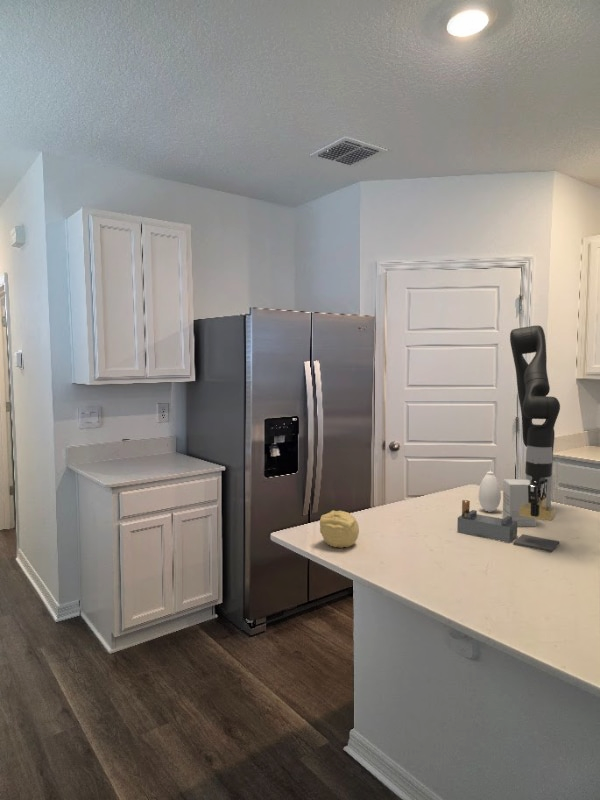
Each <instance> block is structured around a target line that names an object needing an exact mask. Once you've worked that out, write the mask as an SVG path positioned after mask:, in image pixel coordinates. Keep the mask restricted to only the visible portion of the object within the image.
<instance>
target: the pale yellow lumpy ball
mask: <svg viewBox="0 0 600 800" xmlns="http://www.w3.org/2000/svg"><path fill="white" fill-rule="evenodd" d="M319 533H320V534H321V536H322V538H323V540H324V542H325V543H326V544H327V545H328V546H329V545H330V546H329V547H332V546H333V547H332V548H336V547H342V548H341V549H344V548H343V547H346V548H349V547H351V546H353V545H354V544H355V543H356V542H357V540H358V538H359V533H360V528H359V524H358V521H357V519H356V518H355V516H353V514H351V513H349V512H346V511H343V510H331V511H330V512H327V513H326V514H325V513H324V514H322V515H321V516H320V520H319Z"/></svg>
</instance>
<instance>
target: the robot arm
mask: <svg viewBox="0 0 600 800" xmlns="http://www.w3.org/2000/svg"><path fill="white" fill-rule="evenodd" d="M546 340H547V339H546V334H545V331H544V328H543V327H542V326H541V325H531V326H530V325H529V326H523V327H518V328H517V327H516V328H514V329H512V330H511V331H510V334H509V342H510V348H511V352H512V358H513V363H514V368H515V375H516V385H517V386H516V387H517V395H518V399H519V407H520V412H521V414H520V415H521V429H522V431H521V432H522V440H523V444H524V446H525V447H526V451H525V470H524V471H525V472H524V474H525V480H530V485H528V502H529V503H530V504H531V516H535V517H538V516H539V501H540V498H541V497H546V507H551V508H552V488H553V487H552V486H553V485H552V484H553V482H552V481H553V460H554V448H555V447H554V446H555V437H556V435H555V424H556V422H557V419H558V417H559V413H560V410H561V404H560V401H559V399H558V398H557V397H555V396H548V395H549V393H550V392H551V391H550V390H551V388H550V381H549V377H548V370H547V368H548V367H547V360H548V359H547V357H548V356H547V342H546ZM534 353H535V355H534V356H533V358H532V359H531V361H530V362H529V363H528V362H527V360H526V359H525V357H524V355H527V354H534ZM533 420H544V422H542V424H536V423H533ZM533 497H535V500H533Z"/></svg>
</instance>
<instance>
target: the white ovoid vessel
mask: <svg viewBox="0 0 600 800" xmlns="http://www.w3.org/2000/svg"><path fill="white" fill-rule="evenodd" d="M501 498H502V493H501V487H500V483H499V480H498V478H497V477H496V475H495V472H493V471H492V465H491V464H490V465H489V471H486V474H485V475H484V476H483V478H482V480H481V481H480V485H479V487H478V501H479V504H480V507H481V508H483V509H484V511H485V512H487V511H488V512H487V513H492V512H495V510H497V509H498V508H499V506H500V503H501Z"/></svg>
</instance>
